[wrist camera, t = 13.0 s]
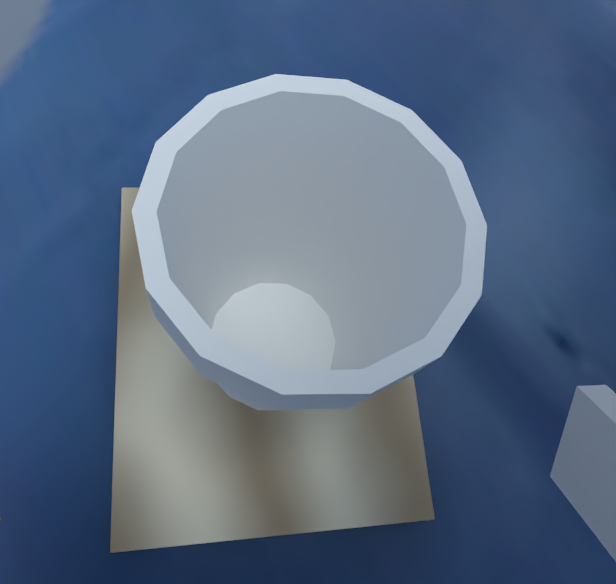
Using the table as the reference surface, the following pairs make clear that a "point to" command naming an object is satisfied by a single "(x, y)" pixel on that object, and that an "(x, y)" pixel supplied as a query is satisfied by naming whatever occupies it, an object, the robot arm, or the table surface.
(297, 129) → the foam cup
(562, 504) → the table surface
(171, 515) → the birch board
